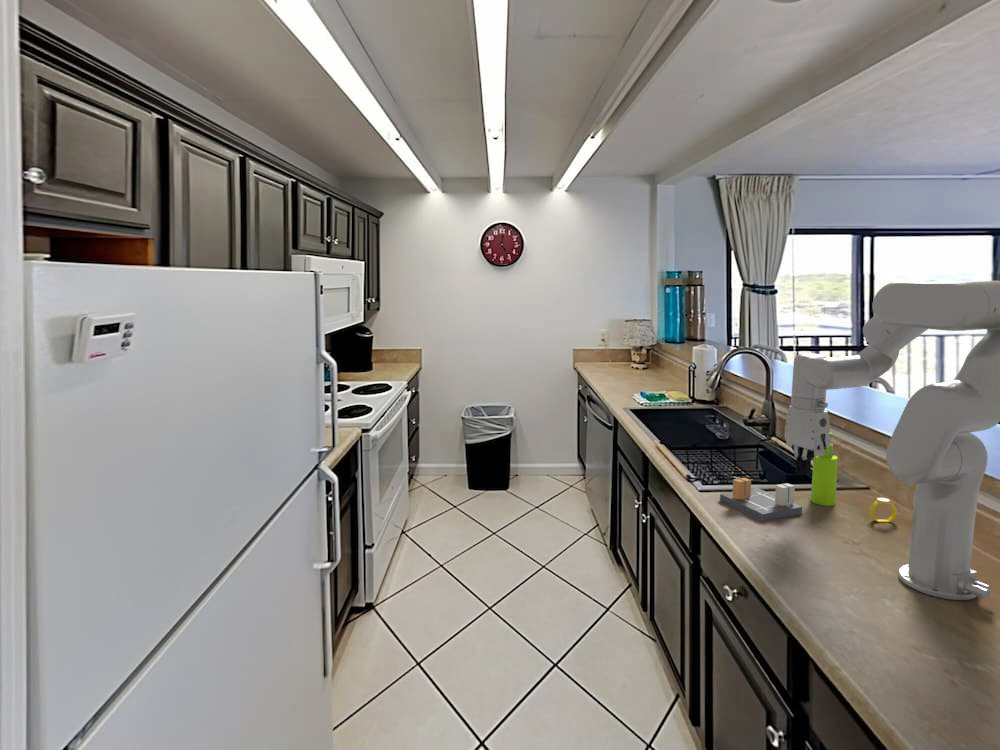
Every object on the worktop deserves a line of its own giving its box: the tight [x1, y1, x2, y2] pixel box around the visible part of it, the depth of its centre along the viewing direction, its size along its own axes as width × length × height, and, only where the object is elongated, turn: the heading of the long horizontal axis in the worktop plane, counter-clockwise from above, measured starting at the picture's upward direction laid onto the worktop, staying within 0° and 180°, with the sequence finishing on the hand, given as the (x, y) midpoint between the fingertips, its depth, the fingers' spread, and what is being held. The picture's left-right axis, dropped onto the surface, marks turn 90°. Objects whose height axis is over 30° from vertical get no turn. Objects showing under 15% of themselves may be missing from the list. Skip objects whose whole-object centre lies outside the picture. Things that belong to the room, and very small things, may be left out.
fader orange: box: [732, 477, 752, 500], centre depth 154 cm, size 2×4×5 cm, turn 108°
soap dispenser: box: [810, 431, 839, 507], centre depth 154 cm, size 6×7×20 cm
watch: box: [868, 497, 898, 524], centre depth 141 cm, size 6×3×6 cm, turn 85°
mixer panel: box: [719, 487, 803, 522], centre depth 153 cm, size 16×13×2 cm
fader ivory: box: [774, 482, 796, 506], centre depth 149 cm, size 2×4×5 cm, turn 108°
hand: (802, 472), depth 142 cm, fingers closed
